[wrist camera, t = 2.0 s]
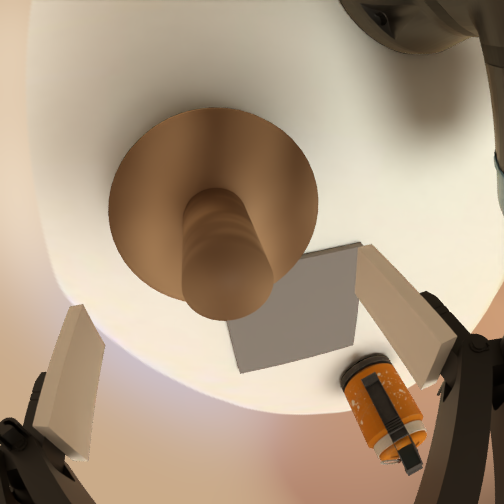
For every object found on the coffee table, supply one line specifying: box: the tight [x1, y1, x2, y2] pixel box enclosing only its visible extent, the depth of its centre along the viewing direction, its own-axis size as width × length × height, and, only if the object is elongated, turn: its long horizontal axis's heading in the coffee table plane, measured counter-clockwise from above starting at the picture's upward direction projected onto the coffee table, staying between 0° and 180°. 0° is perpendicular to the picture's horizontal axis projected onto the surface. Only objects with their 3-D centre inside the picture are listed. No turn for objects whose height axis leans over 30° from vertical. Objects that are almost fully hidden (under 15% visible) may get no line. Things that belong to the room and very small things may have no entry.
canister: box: [341, 355, 427, 476], centre depth 38 cm, size 9×11×20 cm
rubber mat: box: [227, 242, 363, 374], centre depth 37 cm, size 16×16×1 cm
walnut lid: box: [108, 108, 318, 321], centre depth 19 cm, size 15×15×9 cm
